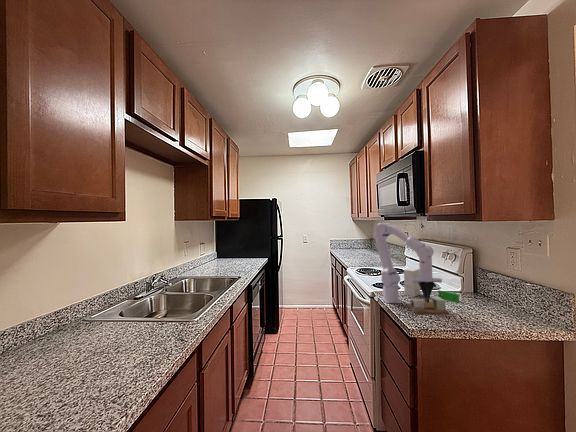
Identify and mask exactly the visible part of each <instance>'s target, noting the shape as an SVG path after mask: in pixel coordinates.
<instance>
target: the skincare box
mask: <svg viewBox="0 0 576 432" xmlns="http://www.w3.org/2000/svg"><path fill="white" fill-rule="evenodd" d="M413 278H420V268H418V267H417V268H416V267H408V268H404V270H403V285H404V286H403V287H404V292H403V293H404V296H407V297H408V296H409V297H412V298H413V297H414V298H415V297H417V296H419V295H421V287H420V285H419V284H418V283H411V279H413Z"/></svg>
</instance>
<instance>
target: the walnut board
mask: <svg viewBox="0 0 576 432" xmlns="http://www.w3.org/2000/svg"><path fill="white" fill-rule="evenodd" d="M406 308H408V309H410V310H411V311H412V312H413V313H415V314H416V315H431V314H432V315H444V314H445V315H446V314H447V315H448V314H449V311H448V310H437V306H434V307H424V309H413V308H412V307H411V303H408V304H406Z"/></svg>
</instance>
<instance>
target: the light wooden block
mask: <svg viewBox="0 0 576 432" xmlns="http://www.w3.org/2000/svg"><path fill="white" fill-rule="evenodd" d="M423 301H424V307H434V302H433V301H431V300H430V298H429V293H427V298H425V297H424V296H423Z"/></svg>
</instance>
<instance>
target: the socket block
mask: <svg viewBox="0 0 576 432" xmlns="http://www.w3.org/2000/svg"><path fill="white" fill-rule="evenodd" d="M430 301H433V302H434V306H437V310H446V300H444V299H442V298H440V297H438V296H430Z"/></svg>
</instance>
